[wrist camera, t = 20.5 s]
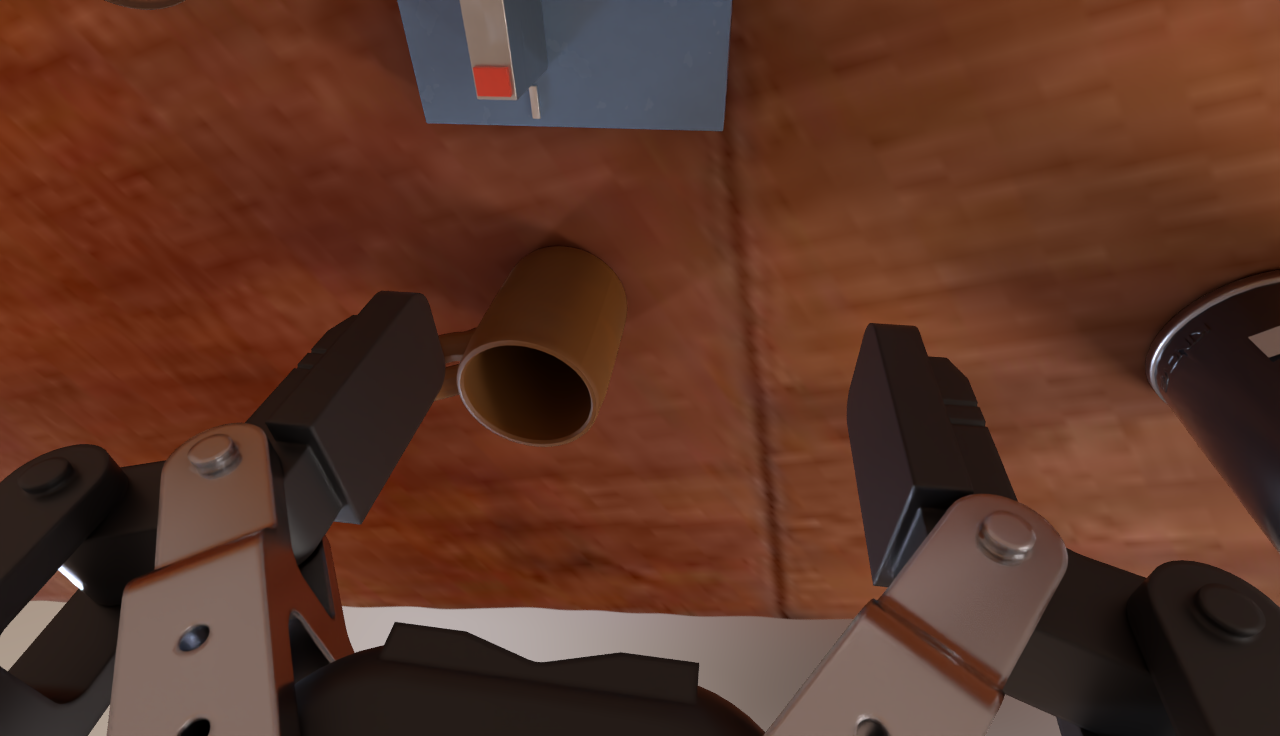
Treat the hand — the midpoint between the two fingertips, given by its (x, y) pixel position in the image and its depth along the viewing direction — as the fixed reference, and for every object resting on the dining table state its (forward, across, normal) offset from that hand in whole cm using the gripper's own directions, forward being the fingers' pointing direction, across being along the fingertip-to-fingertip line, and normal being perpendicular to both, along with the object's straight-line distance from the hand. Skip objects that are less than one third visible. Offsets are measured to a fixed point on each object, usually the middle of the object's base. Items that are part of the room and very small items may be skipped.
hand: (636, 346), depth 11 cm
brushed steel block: (+19, +8, -3) cm, 21 cm away
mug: (+22, +10, +14) cm, 28 cm away
